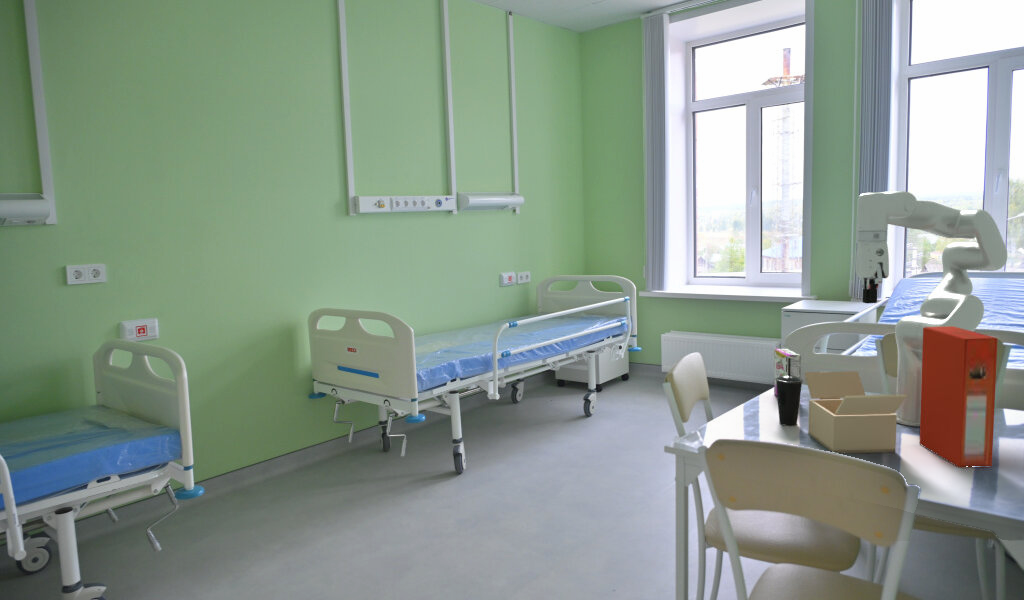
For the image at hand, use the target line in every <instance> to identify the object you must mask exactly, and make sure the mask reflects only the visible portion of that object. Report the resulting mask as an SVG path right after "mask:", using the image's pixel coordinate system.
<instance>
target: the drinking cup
mask: <svg viewBox="0 0 1024 600" xmlns="http://www.w3.org/2000/svg"><path fill="white" fill-rule="evenodd" d="M790 369H791V358H788V375H782V376H779V377H776V378H775V380H776V383H777V396H778V397H777V396H776V397H777V408H778V409H777V410H778V417H779V418H778V419H779V420H778V421H779V424H780V425H783V426H786V427H787V426H788V427H792V426H794V427H795V426H797V425H798V418H799V417H798V416H799V409H800V408H799V407H800V403H801V391H802V386H803V385H802V384H803V383H804V379H803V378H801V377H800V378H799V377H797V376H794V375H790ZM799 402H800V403H799Z"/></svg>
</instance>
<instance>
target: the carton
mask: <svg viewBox="0 0 1024 600" xmlns="http://www.w3.org/2000/svg"><path fill="white" fill-rule="evenodd" d="M842 400H843V398H840V399H824V400H821V399H808V435H810V437H811V438H813V439H814V440H816V441H817V442H818V443H820V444H821V445H822V446H823V447H824V448H826V449H827V450H828V451H830V452H831V451H833V452H838V453H837V454H863V453H865V454H867V453H868V454H869V453H872V454H873V453H874V454H876V453H896V447H897V446H896V445H897V443H896V442H897V424H898V423H897V415H896V414H894V413H886V414H835V412H836V410H837V408H838V407H839V405H840V403H841V402H842ZM844 452H845V453H844Z"/></svg>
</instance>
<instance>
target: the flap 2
mask: <svg viewBox="0 0 1024 600" xmlns="http://www.w3.org/2000/svg"><path fill="white" fill-rule="evenodd" d="M906 397H907V396H906V395H897V394H871V395H868V394H867V395H866V394H865V395H859V396H845V397H844V398H842V399H843V400H842V402H841V403H840V405H839V407H838V408H837V410H836V412H835V414H886V413H895V412H896V411H897V409H898V408H899V406H900V405H901V404H902V402H903V401H904V400H905V398H906Z"/></svg>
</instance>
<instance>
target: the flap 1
mask: <svg viewBox="0 0 1024 600" xmlns="http://www.w3.org/2000/svg"><path fill="white" fill-rule="evenodd" d="M804 378H805V382H806V385H807V387H808V388H807V389H808V392H809V395H810V400H814V399H820V398H840V399H843V398H844V397H845V396H859V395H866V393H865V389H864V387H863V386H864V385H863V383H862V381H861V377H860V375H859V371H858V370H857V371H856V370H855V371H852V370H851V371H817V372H816V371H815V372H812V371H811V372H807V371H805V372H804Z"/></svg>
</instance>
